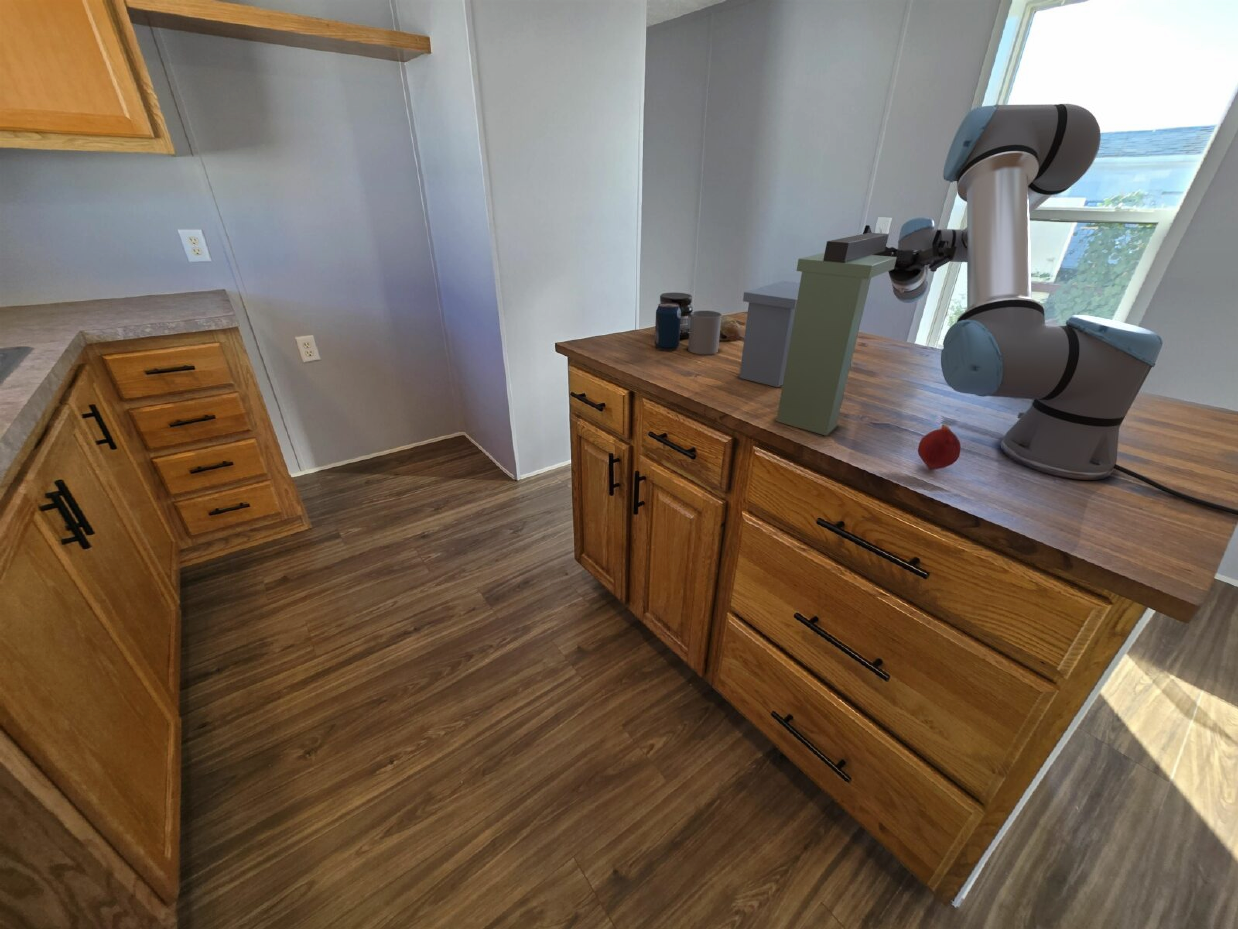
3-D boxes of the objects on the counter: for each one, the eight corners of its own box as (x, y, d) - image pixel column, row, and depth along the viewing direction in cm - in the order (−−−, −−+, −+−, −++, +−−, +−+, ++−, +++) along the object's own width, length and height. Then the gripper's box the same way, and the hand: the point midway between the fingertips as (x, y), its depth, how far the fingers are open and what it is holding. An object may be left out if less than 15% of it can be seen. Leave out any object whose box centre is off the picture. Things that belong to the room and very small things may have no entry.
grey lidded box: (814, 368, 129) (830, 286, 119) (780, 389, 115) (795, 299, 105) (770, 358, 135) (782, 280, 126) (733, 377, 122) (743, 291, 112)
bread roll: (705, 350, 154) (707, 329, 148) (706, 328, 160) (708, 307, 153) (738, 352, 153) (741, 331, 146) (738, 329, 158) (742, 308, 152)
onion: (952, 466, 84) (969, 423, 80) (951, 481, 80) (968, 436, 76) (914, 457, 87) (928, 415, 83) (910, 471, 83) (925, 427, 79)
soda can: (683, 347, 144) (686, 304, 138) (669, 352, 140) (671, 308, 134) (664, 343, 148) (666, 300, 142) (649, 348, 144) (651, 304, 138)
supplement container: (663, 329, 161) (665, 290, 155) (695, 333, 157) (698, 293, 152) (651, 337, 153) (652, 296, 147) (684, 342, 149) (687, 300, 143)
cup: (717, 355, 138) (721, 318, 133) (687, 353, 139) (689, 316, 134) (718, 346, 145) (722, 311, 140) (689, 345, 146) (692, 309, 142)
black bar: (884, 250, 96) (889, 233, 95) (844, 262, 82) (848, 242, 80) (865, 249, 98) (869, 232, 97) (823, 260, 83) (826, 241, 82)
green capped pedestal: (856, 414, 103) (896, 256, 88) (831, 437, 94) (871, 265, 79) (800, 400, 110) (828, 251, 95) (771, 419, 101) (798, 258, 86)
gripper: (960, 293, 116) (962, 258, 98) (848, 279, 129) (832, 247, 111) (972, 260, 115) (977, 219, 97) (858, 249, 128) (844, 212, 110)
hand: (899, 234), depth 104 cm, fingers open, 13 cm apart
